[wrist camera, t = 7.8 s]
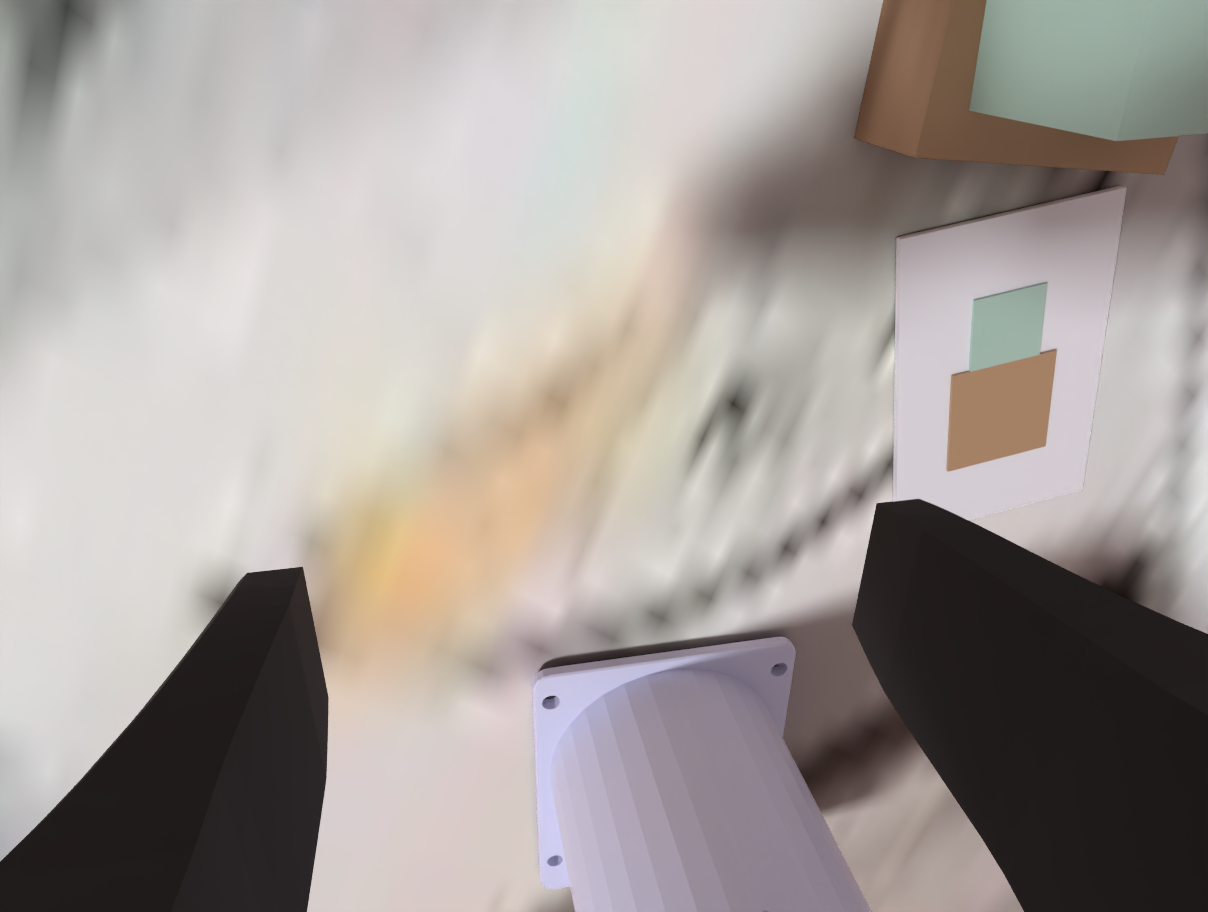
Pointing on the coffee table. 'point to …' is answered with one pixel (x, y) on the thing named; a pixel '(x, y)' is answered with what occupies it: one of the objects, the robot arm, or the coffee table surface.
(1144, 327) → the coffee table surface
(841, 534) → the coffee table surface
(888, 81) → the walnut brick
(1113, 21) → the green brick
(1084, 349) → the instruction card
